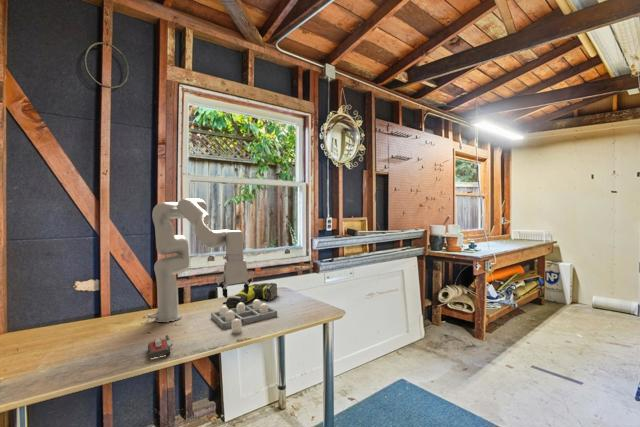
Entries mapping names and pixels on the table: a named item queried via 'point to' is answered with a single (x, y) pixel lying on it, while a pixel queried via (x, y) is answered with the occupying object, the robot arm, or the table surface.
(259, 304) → the egg crate
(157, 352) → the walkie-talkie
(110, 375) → the table surface
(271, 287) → the reciprocating saw
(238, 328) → the egg
